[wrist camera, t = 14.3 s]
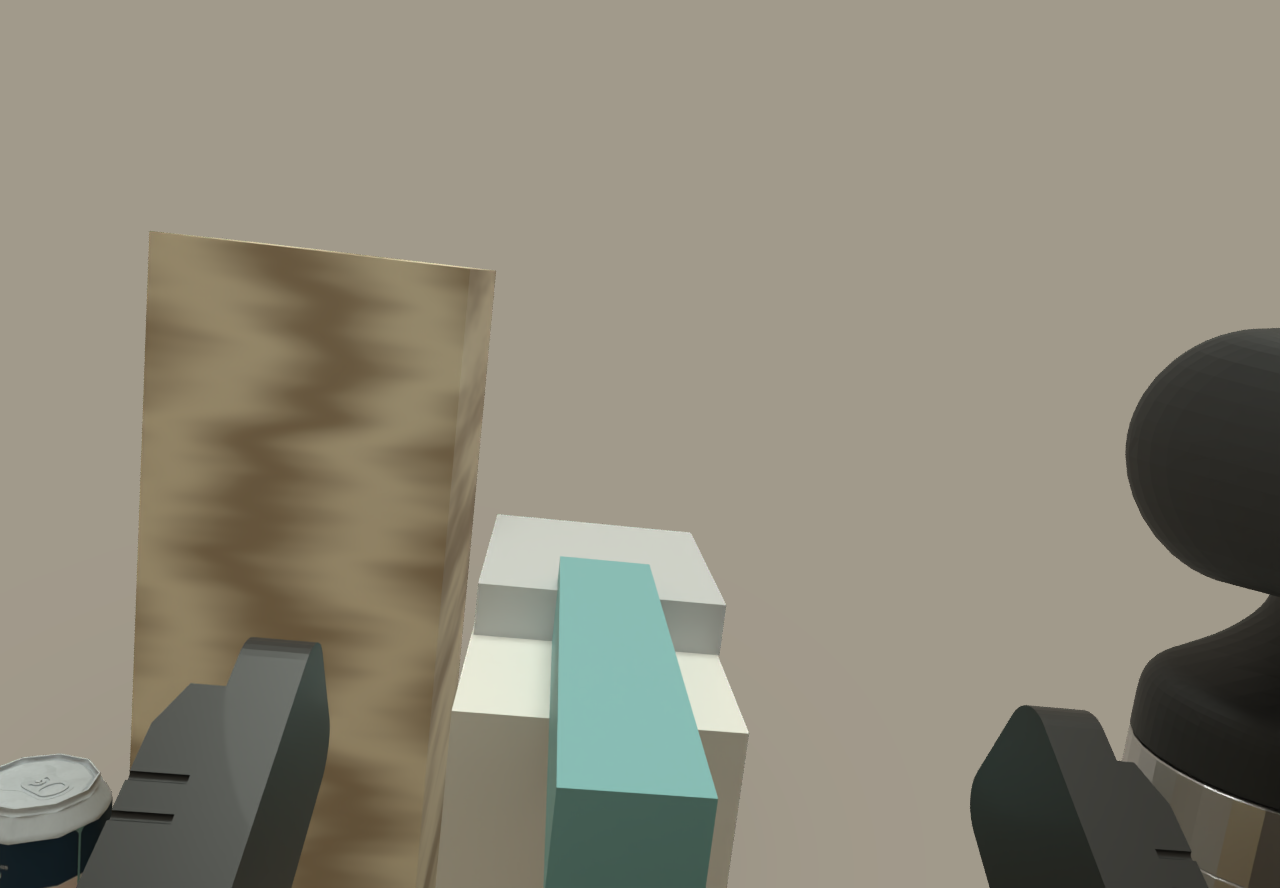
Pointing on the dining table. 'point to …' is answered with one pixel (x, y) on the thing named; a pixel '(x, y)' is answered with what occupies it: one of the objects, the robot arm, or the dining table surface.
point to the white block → (518, 761)
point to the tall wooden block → (316, 512)
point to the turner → (613, 693)
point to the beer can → (50, 819)
